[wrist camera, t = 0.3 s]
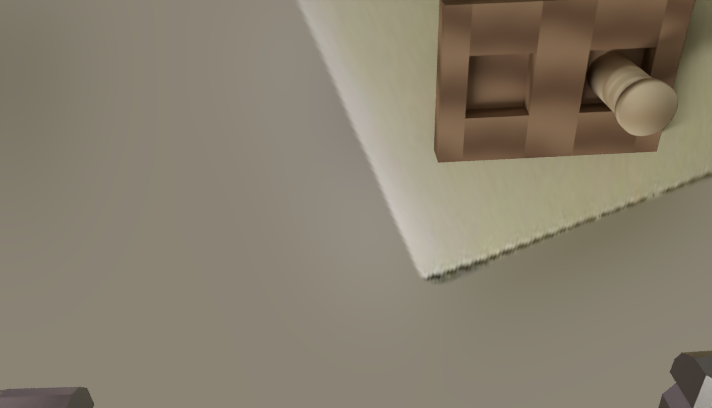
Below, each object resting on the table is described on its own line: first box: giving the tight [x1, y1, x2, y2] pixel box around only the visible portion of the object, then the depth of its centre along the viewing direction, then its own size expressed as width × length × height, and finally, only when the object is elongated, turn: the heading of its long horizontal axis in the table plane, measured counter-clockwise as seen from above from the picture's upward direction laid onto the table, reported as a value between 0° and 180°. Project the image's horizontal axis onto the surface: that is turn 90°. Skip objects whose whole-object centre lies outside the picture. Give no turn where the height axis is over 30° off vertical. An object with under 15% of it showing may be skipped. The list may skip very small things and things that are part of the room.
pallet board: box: [434, 0, 695, 162], centre depth 51 cm, size 14×20×9 cm
